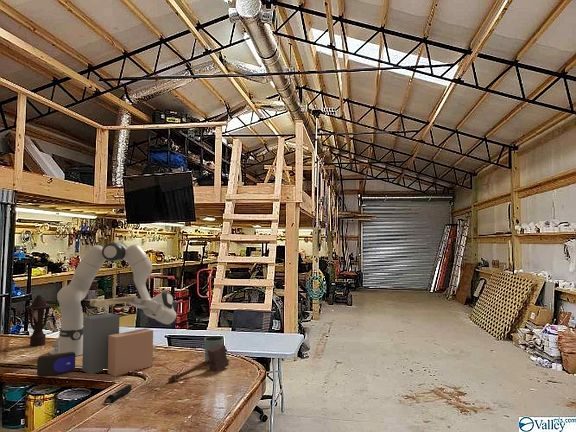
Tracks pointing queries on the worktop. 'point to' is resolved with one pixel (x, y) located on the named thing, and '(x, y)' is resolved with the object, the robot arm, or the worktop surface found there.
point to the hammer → (209, 361)
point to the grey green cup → (211, 344)
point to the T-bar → (111, 301)
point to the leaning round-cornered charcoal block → (55, 364)
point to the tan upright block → (130, 351)
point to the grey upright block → (97, 341)
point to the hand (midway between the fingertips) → (131, 298)
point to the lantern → (38, 320)
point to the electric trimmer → (118, 394)
